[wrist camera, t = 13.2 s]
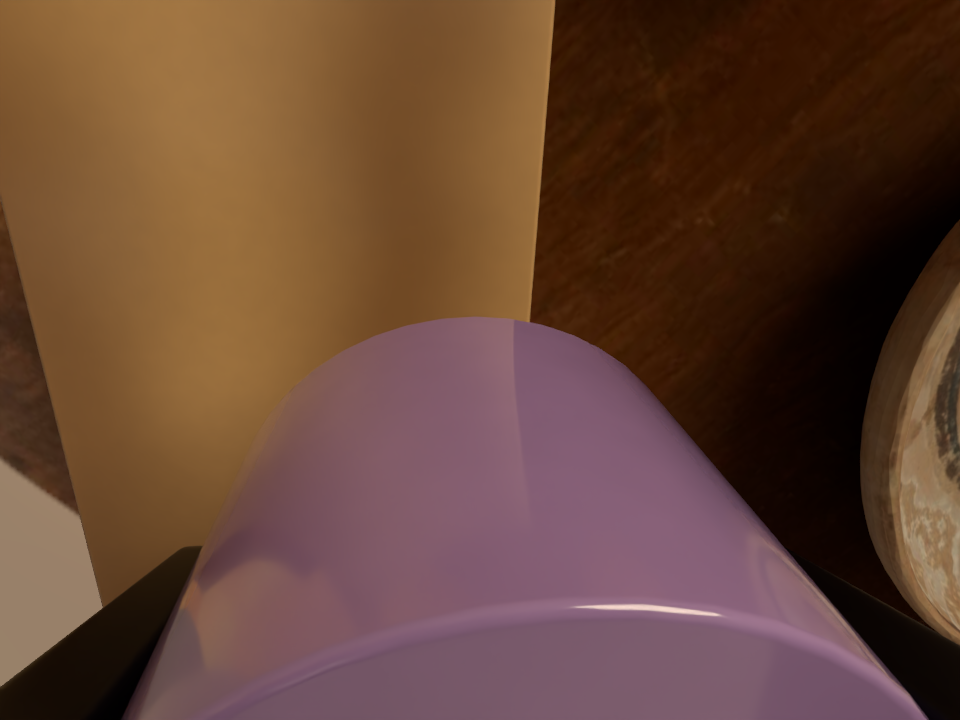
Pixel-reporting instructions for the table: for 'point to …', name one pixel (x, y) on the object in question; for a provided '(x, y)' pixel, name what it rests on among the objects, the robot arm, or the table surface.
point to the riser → (250, 217)
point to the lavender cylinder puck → (496, 557)
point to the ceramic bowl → (919, 445)
